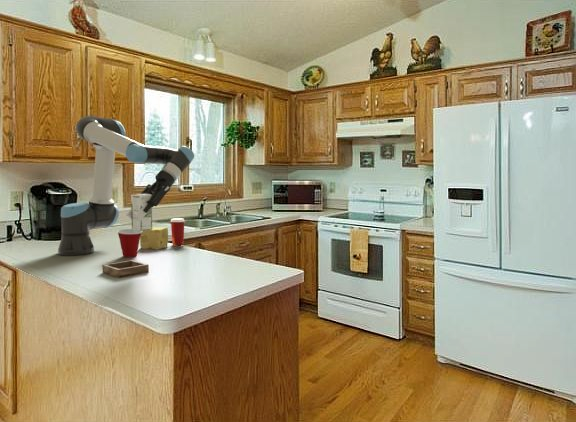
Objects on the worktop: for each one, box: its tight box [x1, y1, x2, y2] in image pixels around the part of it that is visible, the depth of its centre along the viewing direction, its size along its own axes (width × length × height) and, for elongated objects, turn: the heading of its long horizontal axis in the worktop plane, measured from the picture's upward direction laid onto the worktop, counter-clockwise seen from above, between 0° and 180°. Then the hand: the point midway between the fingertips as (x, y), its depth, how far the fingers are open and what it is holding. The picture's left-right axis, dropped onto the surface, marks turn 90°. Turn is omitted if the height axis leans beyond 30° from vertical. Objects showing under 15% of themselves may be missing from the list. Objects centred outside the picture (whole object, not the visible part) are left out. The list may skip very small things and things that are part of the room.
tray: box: [101, 259, 150, 279], centre depth 151 cm, size 12×12×3 cm
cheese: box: [139, 227, 169, 250], centre depth 205 cm, size 10×11×10 cm
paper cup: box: [170, 217, 186, 247], centre depth 214 cm, size 8×8×14 cm
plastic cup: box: [116, 228, 143, 258], centre depth 181 cm, size 11×11×12 cm
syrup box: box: [130, 193, 153, 231], centre depth 160 cm, size 6×6×14 cm
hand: (133, 217), depth 157 cm, fingers closed on syrup box, 6 cm apart
